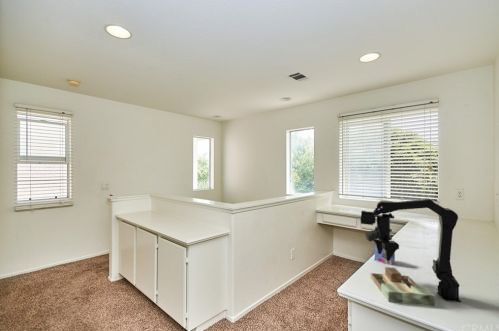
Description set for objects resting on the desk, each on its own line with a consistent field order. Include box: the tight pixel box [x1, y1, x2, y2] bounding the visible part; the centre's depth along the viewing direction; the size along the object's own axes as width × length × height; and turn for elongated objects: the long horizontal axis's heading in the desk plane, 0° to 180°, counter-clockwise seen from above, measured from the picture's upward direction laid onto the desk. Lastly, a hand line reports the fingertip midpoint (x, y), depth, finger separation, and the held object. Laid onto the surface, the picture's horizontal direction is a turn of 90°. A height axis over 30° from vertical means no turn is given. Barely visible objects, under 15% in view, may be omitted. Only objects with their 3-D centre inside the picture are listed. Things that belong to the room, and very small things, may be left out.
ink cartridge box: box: [374, 243, 396, 266], centre depth 144 cm, size 10×6×14 cm, turn 40°
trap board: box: [370, 272, 436, 307], centre depth 110 cm, size 18×22×4 cm
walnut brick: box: [384, 267, 402, 282], centre depth 117 cm, size 4×7×4 cm, turn 171°
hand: (383, 257), depth 117 cm, fingers open, 9 cm apart
